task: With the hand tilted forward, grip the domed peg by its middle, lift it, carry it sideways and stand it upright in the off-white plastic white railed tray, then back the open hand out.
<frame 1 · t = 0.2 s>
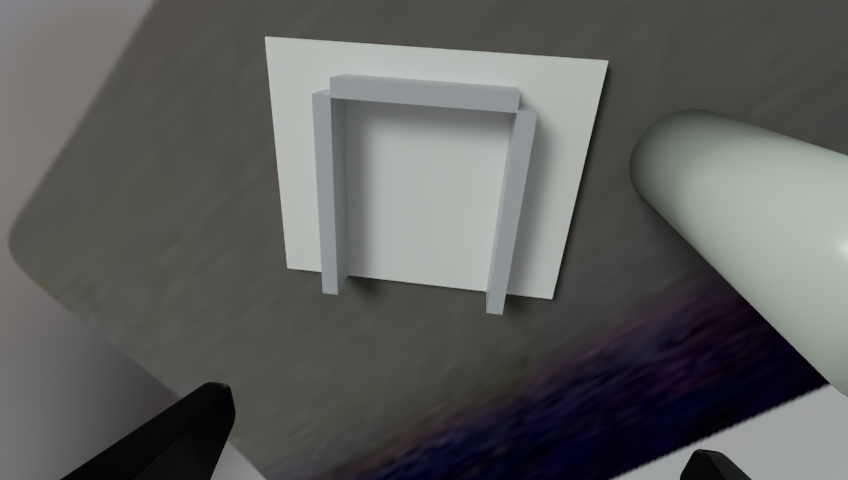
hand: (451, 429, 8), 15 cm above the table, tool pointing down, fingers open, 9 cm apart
white railed tray: (424, 177, 21), on the table
domed peg: (682, 160, 19), on the table
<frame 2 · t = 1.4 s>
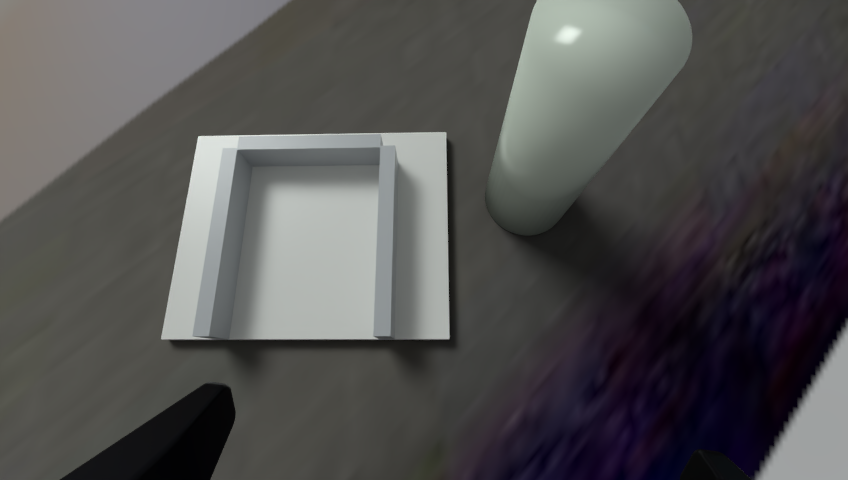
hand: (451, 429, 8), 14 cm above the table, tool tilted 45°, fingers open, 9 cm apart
white railed tray: (316, 232, 24), on the table
domed peg: (525, 197, 24), on the table
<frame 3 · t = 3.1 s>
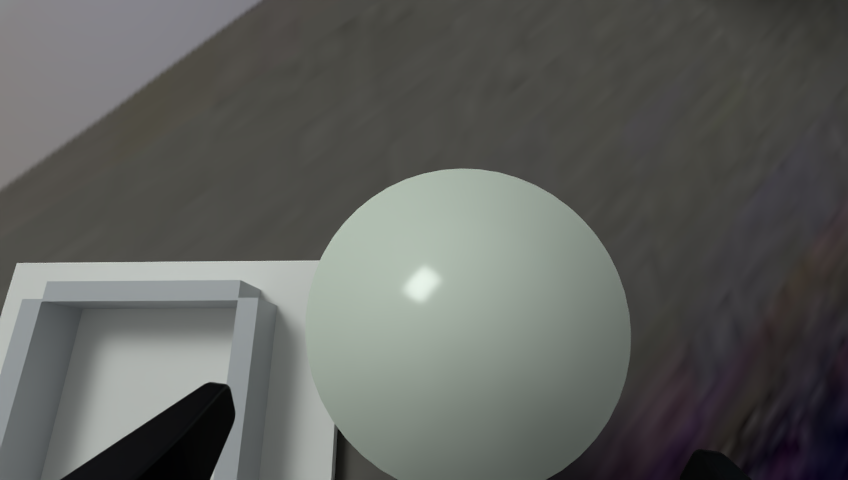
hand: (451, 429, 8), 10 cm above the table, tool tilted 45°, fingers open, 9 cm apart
white railed tray: (161, 403, 18), on the table
domed peg: (446, 353, 18), on the table
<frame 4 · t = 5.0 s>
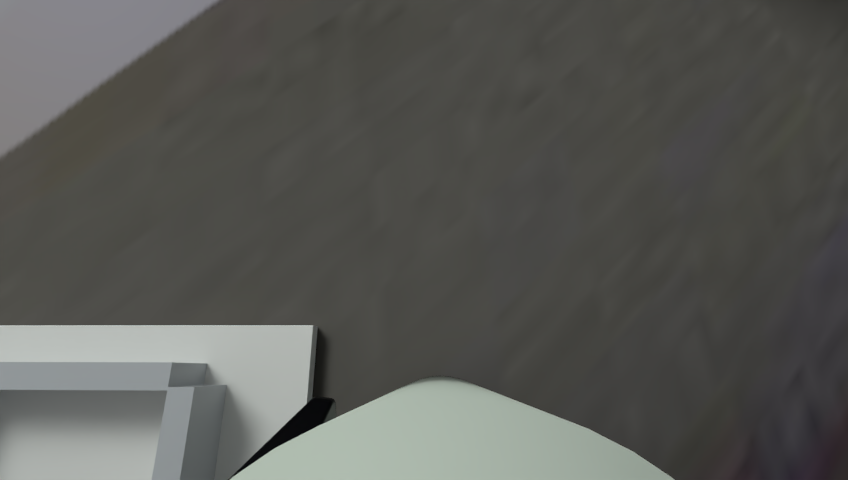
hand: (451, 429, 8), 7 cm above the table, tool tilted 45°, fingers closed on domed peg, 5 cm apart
domed peg: (441, 447, 14), on the table, touching gripper
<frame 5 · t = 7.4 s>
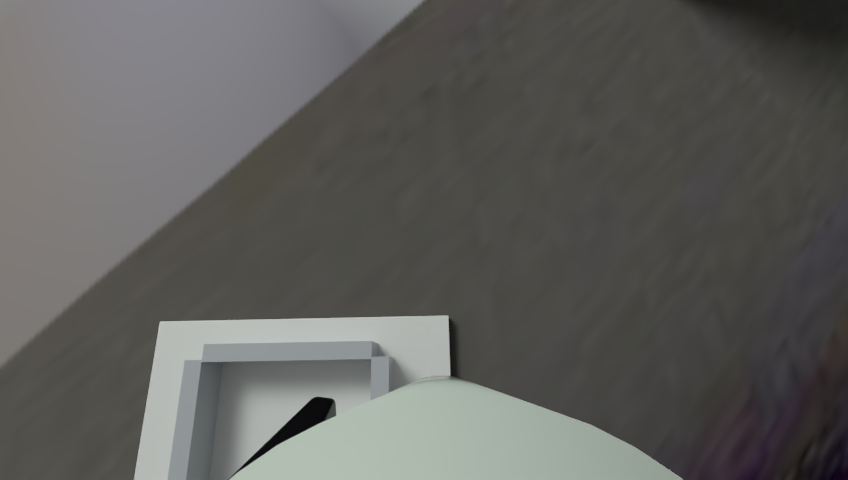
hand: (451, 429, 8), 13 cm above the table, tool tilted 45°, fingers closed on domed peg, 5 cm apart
white railed tray: (298, 444, 20), on the table
domed peg: (442, 447, 14), point 7 cm above the table, touching gripper
when the fingers open (8 cm above the table, at t = 10.2 s): domed peg stays where it is, resting on white railed tray.
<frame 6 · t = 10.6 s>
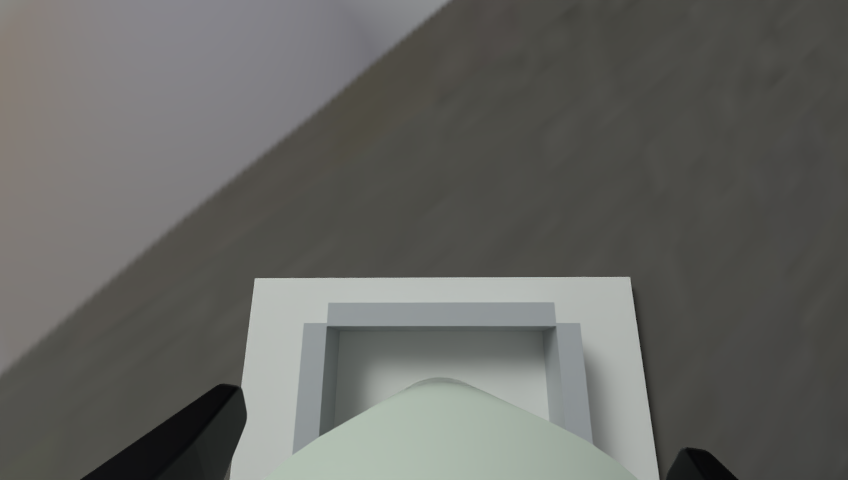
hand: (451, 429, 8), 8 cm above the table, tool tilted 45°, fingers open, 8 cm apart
white railed tray: (441, 439, 15), on the table
domed peg: (441, 444, 15), point 1 cm above the table, touching white railed tray
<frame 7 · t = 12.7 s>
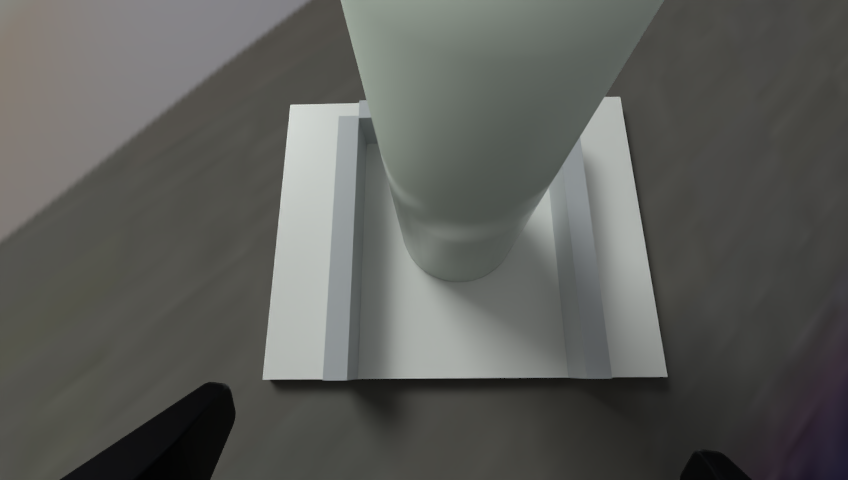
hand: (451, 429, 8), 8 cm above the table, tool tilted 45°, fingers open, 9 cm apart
white railed tray: (456, 230, 18), on the table
domed peg: (457, 227, 17), point 1 cm above the table, touching white railed tray
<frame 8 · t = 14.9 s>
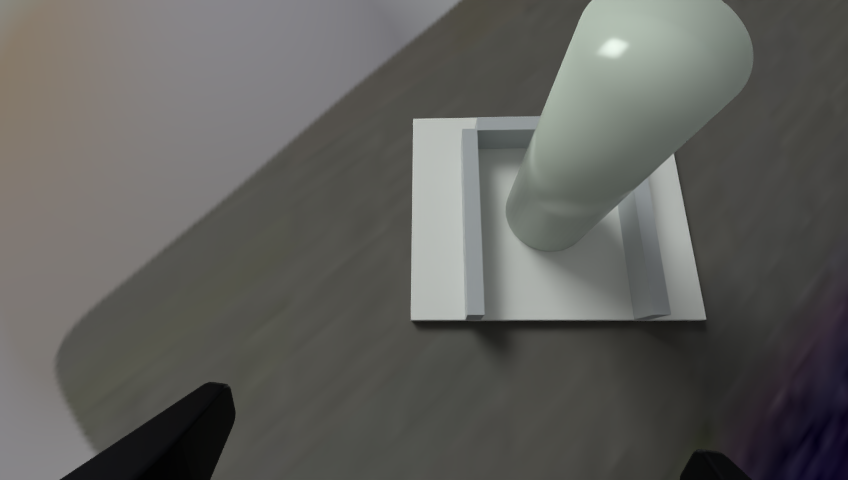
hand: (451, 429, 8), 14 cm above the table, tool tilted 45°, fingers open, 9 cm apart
white railed tray: (544, 214, 24), on the table
domed peg: (547, 211, 23), point 1 cm above the table, touching white railed tray
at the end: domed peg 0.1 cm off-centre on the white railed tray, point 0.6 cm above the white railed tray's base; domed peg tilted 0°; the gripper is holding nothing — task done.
